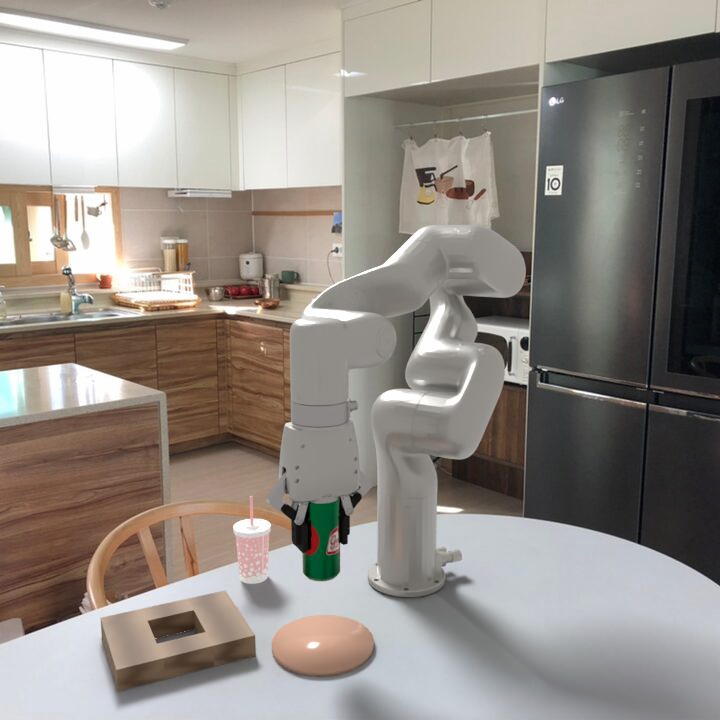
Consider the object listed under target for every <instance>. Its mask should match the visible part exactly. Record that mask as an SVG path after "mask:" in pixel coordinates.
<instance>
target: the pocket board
mask: <svg viewBox="0 0 720 720" xmlns="http://www.w3.org/2000/svg"><path fill="white" fill-rule="evenodd" d="M100 629H101V630H100V631H101V638H102V639H101V640H102V642H103V646H104V648H105V653H106V656H107V657H106V658H107V660H108V663H109V665H110V666H109V667H110V669H111V673H112V677H113V681H114V683H115V687H116V690H117V692H122V691H126V690H129V689H135V688H137V687H141V686H145V685H149V684H152V683H153V684H154V683H157V682H160V681H164V680H168V679H171V678H175V677H176V678H177V677H179V676H183V675H187V674H192V673H195V672H198V671H201V670H202V671H203V670H207V669H210V668H213V667H217V666H221V665H225V664H228V663H233V662H236V661H241V660H244V659H249V658H251V657H255V656H257V652H256V651H257V648H256V634H255V633H254V631H253V630H252V628H251V626H250V625H249V624H248V622H247V621H246V619H245V618H244V616H243V615H242V613H241V612H240V610H239V609H238V607H237V606H236V604H235V602H234V601H233V599H232V598H231V597H230V595H229V594H228V592H227V590H224V589H223V590H221V591H216V592H211V593H206V594H203V595H198V596H193V597H188V598H185V599H180V600H176V601H171V602H166V603H162V604H158V605H153V606H147V607H144V608H138V609H134V610H131V611H130V610H129V611H126V612H120V613H115V614H112V615H107V616H103V617H100ZM193 629H195V630H193ZM188 630H190V631H195V633H196V634H192V635H187V636H183V637H179V638H175V639H172V640H167V641H162V642H159V643H157V641H156V639H155V638H157V639H161V638H164V637H168V636H167V635H169V636H172V635H173V634H174V635H177V633H178V634H181V633H180V632H182V633H185V632H184V631H186V632H189V631H188ZM174 635H173V636H174ZM160 637H161V638H160Z"/></svg>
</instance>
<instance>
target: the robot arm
mask: <svg viewBox="0 0 720 720" xmlns="http://www.w3.org/2000/svg"><path fill="white" fill-rule="evenodd" d="M526 272H527V267H526V263H525V258H524V256H523V254H522V253H521V251H520V249H518V248H517V246H515V245H514V244H512V243H511V242H510V241H509V240H508V239H506V238H504V237H503V236H502V235H501V234H499V233H498V232H496V231H495V230H493V229H491V228H489V227H487V226H484V225H480V224H479V225H478V224H432V225H431V224H430V225H426V226H424V227H421V228H419V229H418V230H417V231H416V232H414V233H413V234H412V235H411V236H410V237H409V239H407V240H406V241H405V242H404V243H403V244H402V245H401V246H400V247H399V248H398V249H397V251H395V252H394V253H393V254H392V255H391V256H390V257H389V258H388V259H387V260H386V261H385V262H384V263H382V264H381V265H379V266H376V267H373V268H371V269H368V270H366V271H363V272H361V273H358V274H356V275H354V276H351V277H349V278H346V279H344V280H342V281H339V282H337V283H335V284H333V285H331V286H330V287H328V288H326V289H325V290H324V291H323V292H321V293H320V294H319V295H318V296H317V297H316V298H314V300H312V301H311V302H310V303H309V304H308V305H307V306H306V307H305V309H303V311H302V312H301V314H300V315H299V317H298V319H297V320H294V321H293V323H292V324H291V326H290V329H289V371H290V373H289V375H290V379H289V381H290V384H289V385H290V386H289V387H290V422H285V424H284V425H283V426H284V427H283V431H282V437H281V444H280V452H279V462H278V464H279V465H278V481H277V482H276V484H275V485H274V486H273V488H272V489H271V490H270V492H269V493H268V495H267V497H266V499H265V500H266V502H267V503H268V504H269V505H270V506H271V507H272V508H275V510H278V511H279V512H281V513H283V514H284V515H285V517H287V518H288V519H290V521H291V522H290V523H291V524H290V525H291V541H292V542H291V543H292V544H293V545H294V546H295V547H296V548H297V549H298V550H299V551H300V552H301V553H306V552H307V551H308V525H307V524H306V523H305V522H304V518H305V514H306V510H307V506H308V503H309V502H312V501H315V500H319V499H321V498H322V496H323V495H329V494H333V495H332V497H340V545H341V544H342V545H343V546H345V545H348V544H349V543H348V541H349V539H348V538H349V535H350V533H351V527H350V526H351V516H352V515H353V514H354V511H355V510H354V509H355V508H356V507H357V505H358V504H359V503H360V501H361V500H362V498H363V497H364V496H365V495H366V494H367V493H368V492H369V491H370V490H371V489H372V487H373V484H372V482H371V481H370V480H369V478H368V477H367V476H366V475H365V473H363V472H362V470H361V469H360V457H359V456H360V454H359V447H358V441H357V434H356V431H355V425H354V421H352V419H351V413H352V412H354V411H357V410H358V408H359V404H358V402H357V400H355V399H354V400H352V399H351V398H350V397H349V396H350V395H349V393H350V392H349V390H350V389H349V388H350V385H349V380H350V379H349V377H350V376H349V372H350V371H352V370H355V369H359V370H360V369H361V370H362V369H374V368H376V367H380V366H381V365H384V364H385V363H386V362H388V360H390V359H391V357H392V355H393V354H394V351H395V350H396V345H397V333H396V329H395V327H394V325H393V323H392V322H391V321H390V320H389V318H395V317H399V316H403V315H407V314H409V313H412V312H415V311H417V310H419V309H420V308H422V307H423V305H425V303H426V302H427V301H428V300H429V305H430V307H429V308H430V315H429V319H428V321H427V324H426V326H425V328H424V329H423V332H421V333H422V334H421V335H420V337H419V339H418V340H417V343H416V345H415V347H414V348H413V350H412V352H411V354H410V357H409V359H408V361H407V364H406V367H405V372H404V375H405V376H404V377H405V381H406V384H407V385H408V387H409V388H393V389H389V390H387V391H384V392H383V393H381V394H380V395H379V396H377V398H376V400H375V401H374V403H373V405H372V407H371V413H370V425H371V426H370V427H371V431H372V435H373V437H372V438H373V441H374V447H375V455H376V465H377V468H376V469H377V473H376V475H377V492H376V493H377V494H376V495H377V497H376V498H377V505H376V507H377V514H376V515H377V516H376V517H377V518H376V519H377V521H376V522H377V525H376V526H377V527H376V528H377V530H376V531H377V532H376V533H377V534H376V535H377V537H376V538H377V540H376V541H377V542H376V544H377V545H376V547H377V548H376V549H377V552H376V554H377V555H376V556H377V557H376V558H377V559H376V560H377V561H376V562H375V563H373V564H372V565H371V566H370V567H369V569H368V570H367V581H368V583H369V585H370V586H371V587H372V588H373V589H375V590H376V591H379V592H380V593H383V594H386V595H388V596H393V597H401V598H417V597H419V598H420V597H424V596H428V595H431V594H434V593H436V592H438V591H439V590H440V589H442V588H443V587H444V585H445V583H446V571H445V570H444V567H446V566H447V564H453V563H457V562H460V561H462V560H463V556H462V555H463V554H462V552H461V550H460V549H459V548H458V549H452V550H447V548H446V547H445V546H440V547H437V527H438V526H437V525H438V524H437V522H438V521H437V520H438V519H437V518H438V515H437V514H438V474H437V470H436V467H435V464H434V462H433V460H432V459H431V456H434V457H437V458H438V457H440V458H443V459H444V458H445V459H450V460H465V459H467V458H470V457H471V456H472V455H473V454H474V453H475V451H476V450H477V449H478V447H479V444H480V442H481V441H482V439H483V436H484V434H485V431H486V429H487V427H488V425H489V422H490V419H491V418H492V415H493V413H494V411H495V408H496V406H497V403H498V400H499V399H500V396H501V393H502V390H503V387H504V383H505V376H506V375H505V373H506V372H505V371H506V368H505V361H504V358H503V355H502V354H501V352H500V351H499V349H497V348H496V347H494V346H492V345H489V344H485V343H481V342H475V341H476V340H477V339H476V338H477V337H478V332H479V331H478V323H477V321H476V318H475V316H474V313H472V311H471V309H470V307H468V305H467V303H466V302H465V300H464V297H465V296H466V297H467V296H468V297H484V298H501V299H503V298H504V299H506V298H511V297H514V296H515V295H516V294H518V293H519V292H520V291H521V289H522V288H523V286H524V283H525V279H526V274H527V273H526ZM284 495H288V497H289V500H290V503H289V504H288V503H287V502H286V501H284V500H283V496H284Z"/></svg>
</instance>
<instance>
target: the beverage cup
mask: <svg viewBox="0 0 720 720" xmlns="http://www.w3.org/2000/svg"><path fill="white" fill-rule="evenodd" d="M253 498H254V496H253V495H250V496H249V512H250V513H249V514H250V515H249V516H250V518H246V519H241V520H239V521H237V522H235V523H234V524H233V525H232V526H233V527H232V528H233V530H232V531H233V534H234V535H235V543H236V555H237V564H238V572H239V573H238V576H239V580H240V581H241V582H242V583H245V584H248V585H252V584H253V585H255V584H260V583H263V582H264V581H266V580H267V579H268V578H269V577H268V575H269V550H270V549H269V548H270V547H269V546H270V533H271V531H272V529H271V528H272V524H271V522H269V521H268V519H267V520H266V519H263V518H254V499H253Z"/></svg>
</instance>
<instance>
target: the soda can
mask: <svg viewBox="0 0 720 720" xmlns="http://www.w3.org/2000/svg"><path fill="white" fill-rule="evenodd" d="M332 495H333V494H329V495H323V496H322V498H321V499H319V500H315V501H312V502H309V503H308V506H307V510H306V514H305V518H304V522H305V523H306V524H307V525H308V551H307V552H306V553H302V552H301V553H302V573H303V575H304V576H305V577H306V578H307V579H309V580H311V581H313V582H314V581H315V582H328V581H333V580H335V578H336V577H338V575H339V574H340V573H341V543H340V497H332Z"/></svg>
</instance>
